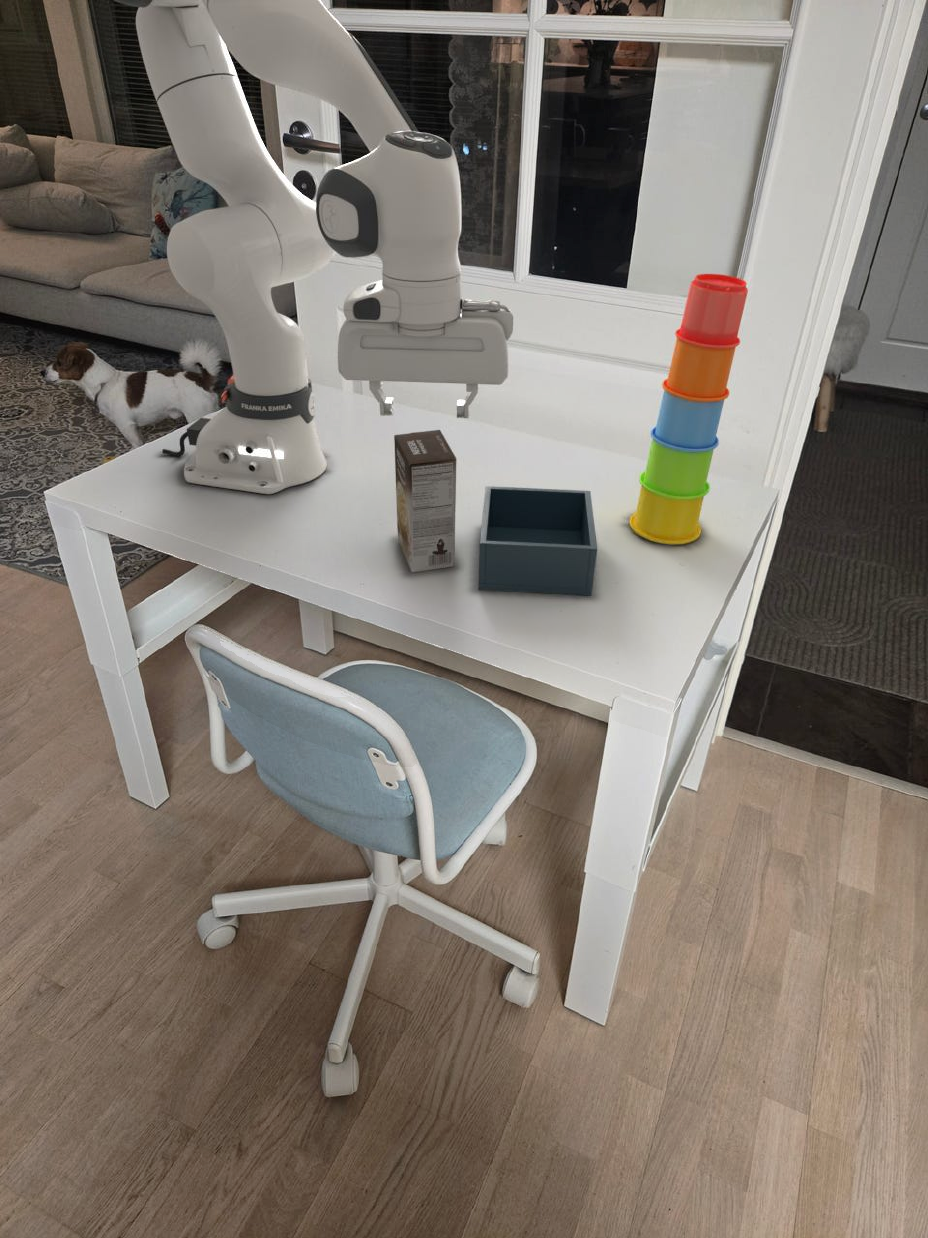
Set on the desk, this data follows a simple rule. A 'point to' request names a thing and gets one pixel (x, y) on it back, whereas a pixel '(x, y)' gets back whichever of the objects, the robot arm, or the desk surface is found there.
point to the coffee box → (425, 499)
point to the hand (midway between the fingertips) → (425, 415)
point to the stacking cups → (690, 412)
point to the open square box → (537, 541)
